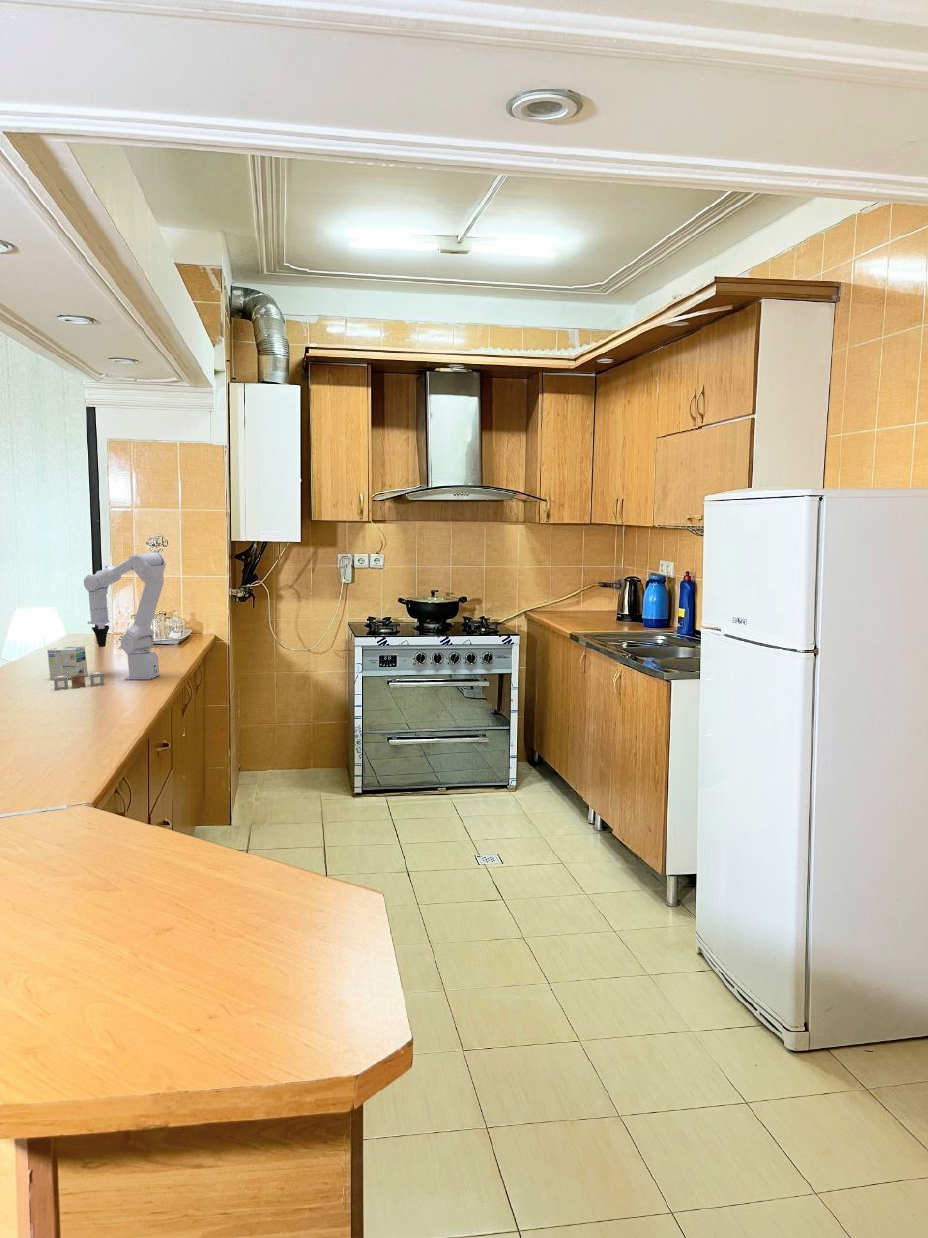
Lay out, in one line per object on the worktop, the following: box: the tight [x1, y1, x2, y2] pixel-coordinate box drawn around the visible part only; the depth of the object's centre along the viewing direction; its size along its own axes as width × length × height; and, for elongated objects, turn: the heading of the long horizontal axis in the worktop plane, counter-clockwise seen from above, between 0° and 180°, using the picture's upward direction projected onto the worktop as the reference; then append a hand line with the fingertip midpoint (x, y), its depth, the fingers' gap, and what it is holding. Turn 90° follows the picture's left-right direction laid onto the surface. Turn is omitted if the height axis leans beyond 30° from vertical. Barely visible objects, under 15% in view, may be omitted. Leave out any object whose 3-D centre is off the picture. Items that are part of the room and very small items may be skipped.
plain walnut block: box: [70, 674, 86, 689], centre depth 295 cm, size 4×4×4 cm
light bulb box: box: [47, 645, 89, 680], centre depth 312 cm, size 11×7×11 cm, turn 84°
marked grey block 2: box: [89, 671, 105, 687], centre depth 298 cm, size 4×4×4 cm
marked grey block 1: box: [53, 675, 69, 691], centre depth 293 cm, size 4×4×4 cm
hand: (102, 646), depth 313 cm, fingers closed
